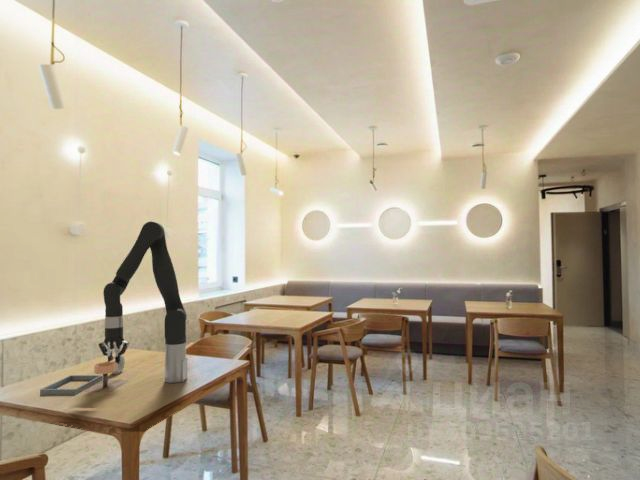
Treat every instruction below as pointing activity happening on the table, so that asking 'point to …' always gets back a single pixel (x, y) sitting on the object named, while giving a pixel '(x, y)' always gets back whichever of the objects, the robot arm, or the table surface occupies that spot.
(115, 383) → the panel
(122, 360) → the donut
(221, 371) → the table surface
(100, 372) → the ring
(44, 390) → the tray
